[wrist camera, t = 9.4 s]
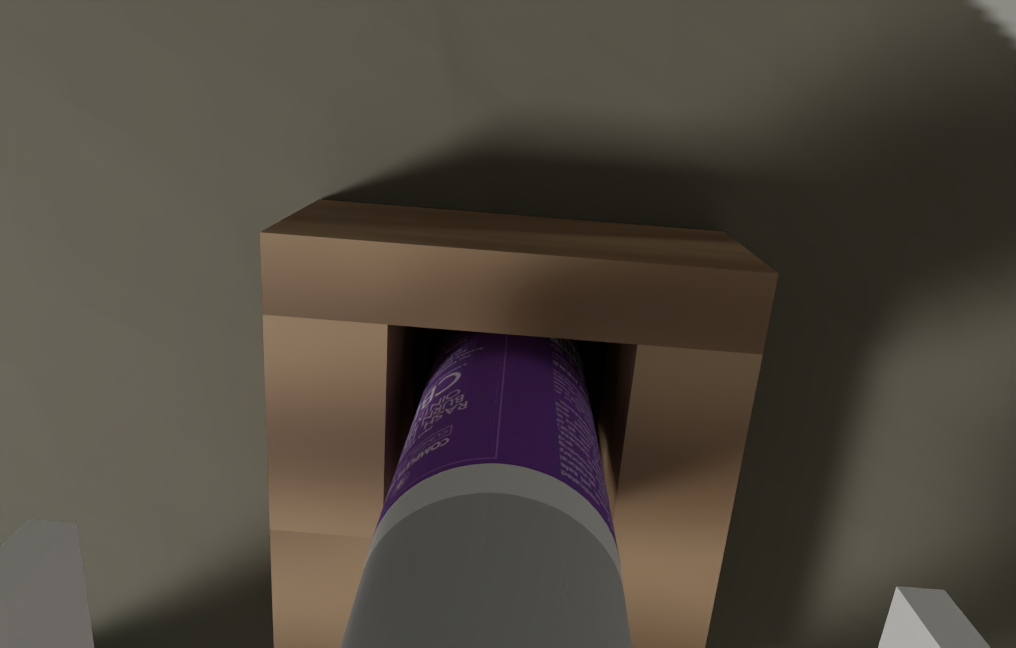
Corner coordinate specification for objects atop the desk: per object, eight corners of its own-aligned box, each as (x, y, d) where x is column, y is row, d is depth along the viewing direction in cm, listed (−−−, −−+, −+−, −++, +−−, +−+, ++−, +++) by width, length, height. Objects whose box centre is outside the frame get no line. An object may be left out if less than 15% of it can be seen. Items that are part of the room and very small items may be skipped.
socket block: (319, 199, 22) (259, 232, 17) (724, 231, 22) (778, 273, 17) (322, 637, 27) (277, 758, 22) (650, 664, 27) (676, 791, 22)
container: (451, 284, 22) (314, 638, 8) (600, 319, 23) (720, 724, 8) (422, 419, 24) (261, 920, 10) (561, 450, 24) (608, 987, 10)
